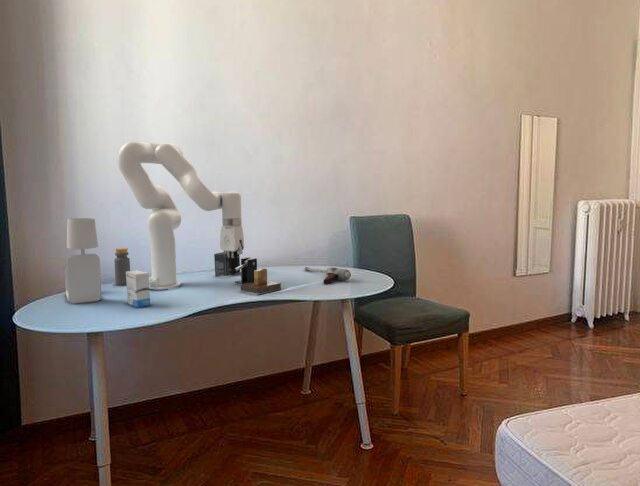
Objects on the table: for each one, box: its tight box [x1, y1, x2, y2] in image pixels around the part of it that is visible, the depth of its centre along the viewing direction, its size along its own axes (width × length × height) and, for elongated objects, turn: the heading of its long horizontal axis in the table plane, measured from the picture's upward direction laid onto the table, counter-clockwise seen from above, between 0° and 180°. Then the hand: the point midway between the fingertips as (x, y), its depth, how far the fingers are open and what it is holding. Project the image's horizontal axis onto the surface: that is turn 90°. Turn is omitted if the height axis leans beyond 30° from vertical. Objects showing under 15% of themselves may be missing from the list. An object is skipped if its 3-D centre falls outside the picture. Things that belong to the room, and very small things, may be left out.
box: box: [213, 251, 241, 277], centre depth 239 cm, size 11×7×10 cm, turn 154°
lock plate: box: [240, 279, 282, 297], centre depth 208 cm, size 12×10×3 cm
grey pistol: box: [304, 266, 352, 285], centre depth 236 cm, size 5×35×13 cm
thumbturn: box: [254, 267, 268, 285], centre depth 207 cm, size 5×2×6 cm, turn 141°
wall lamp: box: [64, 217, 103, 304], centre depth 193 cm, size 10×21×30 cm, turn 32°
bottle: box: [113, 247, 131, 286], centre depth 219 cm, size 6×6×15 cm
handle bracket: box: [234, 256, 258, 285], centre depth 221 cm, size 9×8×11 cm
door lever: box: [229, 259, 248, 276], centre depth 217 cm, size 12×3×3 cm, turn 141°
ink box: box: [126, 269, 151, 308], centre depth 185 cm, size 9×5×12 cm, turn 45°
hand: (233, 267), depth 214 cm, fingers closed
